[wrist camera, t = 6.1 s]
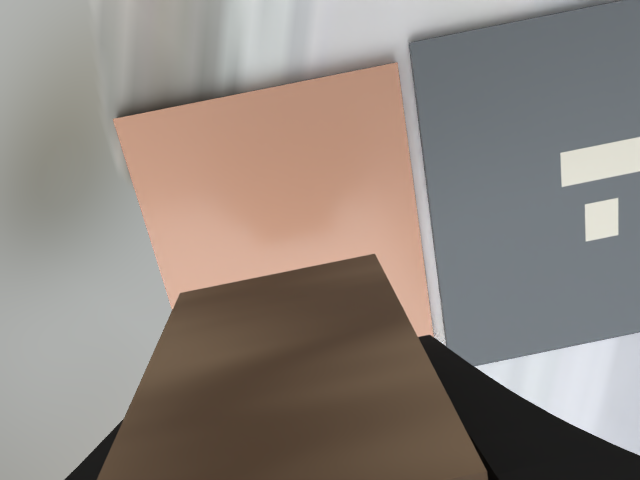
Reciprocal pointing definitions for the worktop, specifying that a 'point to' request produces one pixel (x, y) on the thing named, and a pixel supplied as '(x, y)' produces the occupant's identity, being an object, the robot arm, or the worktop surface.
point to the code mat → (534, 179)
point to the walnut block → (292, 387)
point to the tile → (281, 184)
